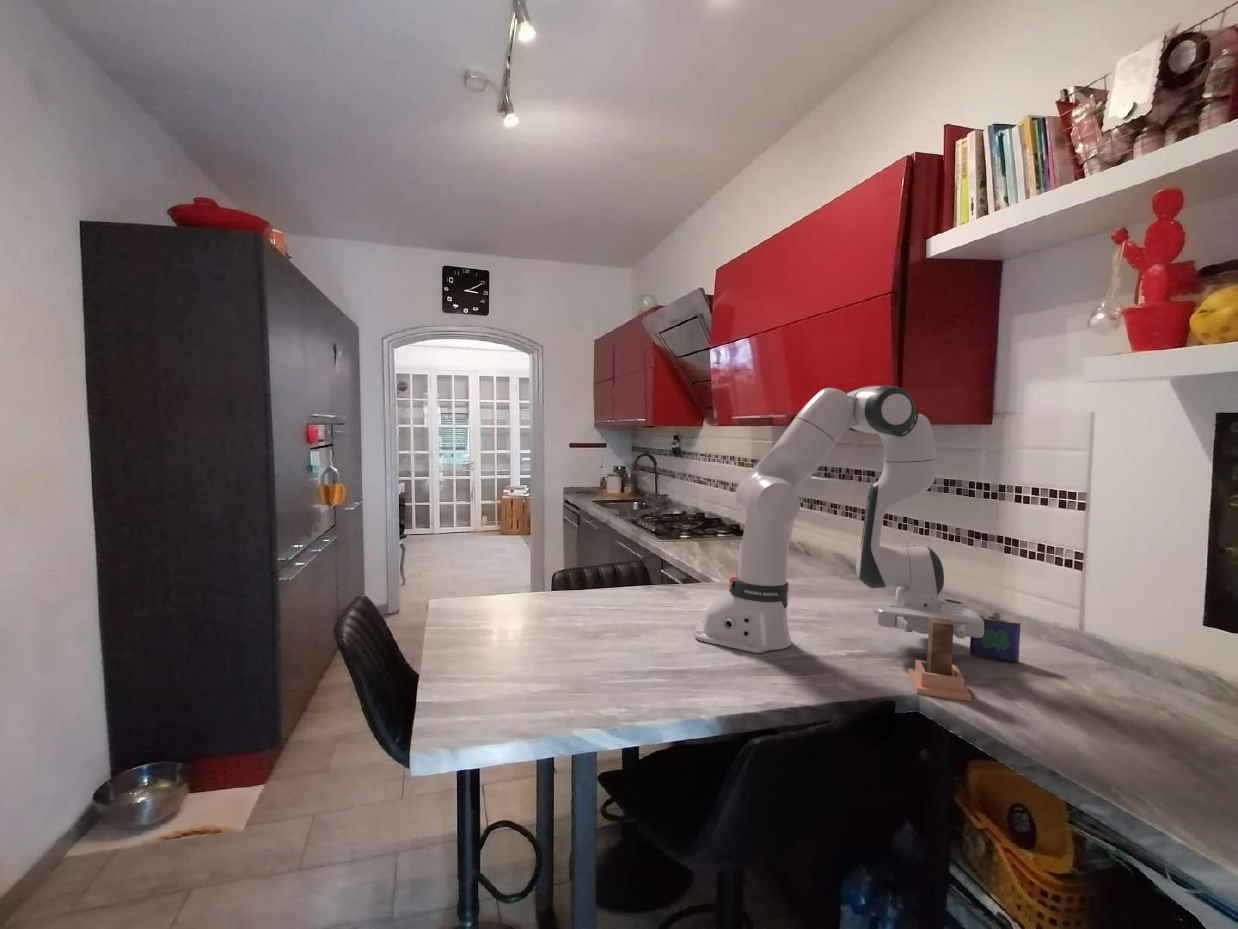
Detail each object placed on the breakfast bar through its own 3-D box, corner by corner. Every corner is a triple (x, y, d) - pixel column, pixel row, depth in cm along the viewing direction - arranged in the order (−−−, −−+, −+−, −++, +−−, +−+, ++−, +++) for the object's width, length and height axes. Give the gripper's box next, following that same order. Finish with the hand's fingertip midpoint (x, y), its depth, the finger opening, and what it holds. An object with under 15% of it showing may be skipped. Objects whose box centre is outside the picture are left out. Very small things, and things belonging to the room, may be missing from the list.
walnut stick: (929, 683, 109) (933, 622, 108) (926, 676, 112) (929, 617, 112) (950, 686, 108) (953, 624, 107) (946, 679, 111) (949, 619, 110)
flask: (1017, 660, 125) (1020, 612, 124) (1019, 665, 122) (1022, 616, 122) (968, 652, 129) (971, 606, 129) (970, 656, 127) (972, 609, 126)
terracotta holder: (916, 693, 107) (917, 675, 107) (908, 673, 116) (909, 656, 116) (971, 701, 104) (972, 683, 104) (958, 680, 113) (959, 663, 113)
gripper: (873, 593, 132) (879, 610, 119) (974, 603, 125) (992, 622, 112) (872, 620, 132) (878, 639, 119) (972, 632, 125) (990, 653, 112)
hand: (934, 631), depth 115 cm, fingers open, 8 cm apart
